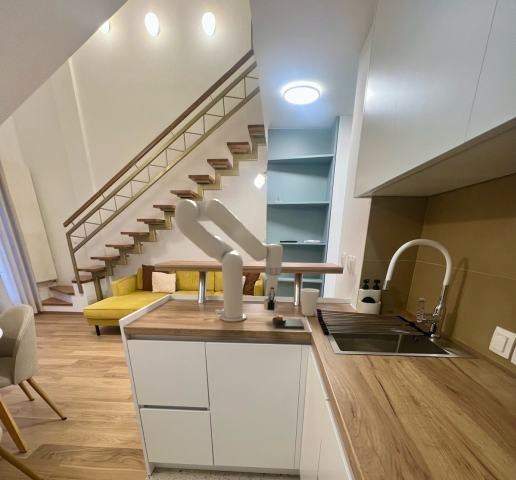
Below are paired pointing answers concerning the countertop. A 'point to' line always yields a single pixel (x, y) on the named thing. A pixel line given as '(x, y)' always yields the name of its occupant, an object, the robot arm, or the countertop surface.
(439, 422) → the countertop surface
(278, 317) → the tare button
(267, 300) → the bowl
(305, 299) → the foam cup
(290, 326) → the scale
